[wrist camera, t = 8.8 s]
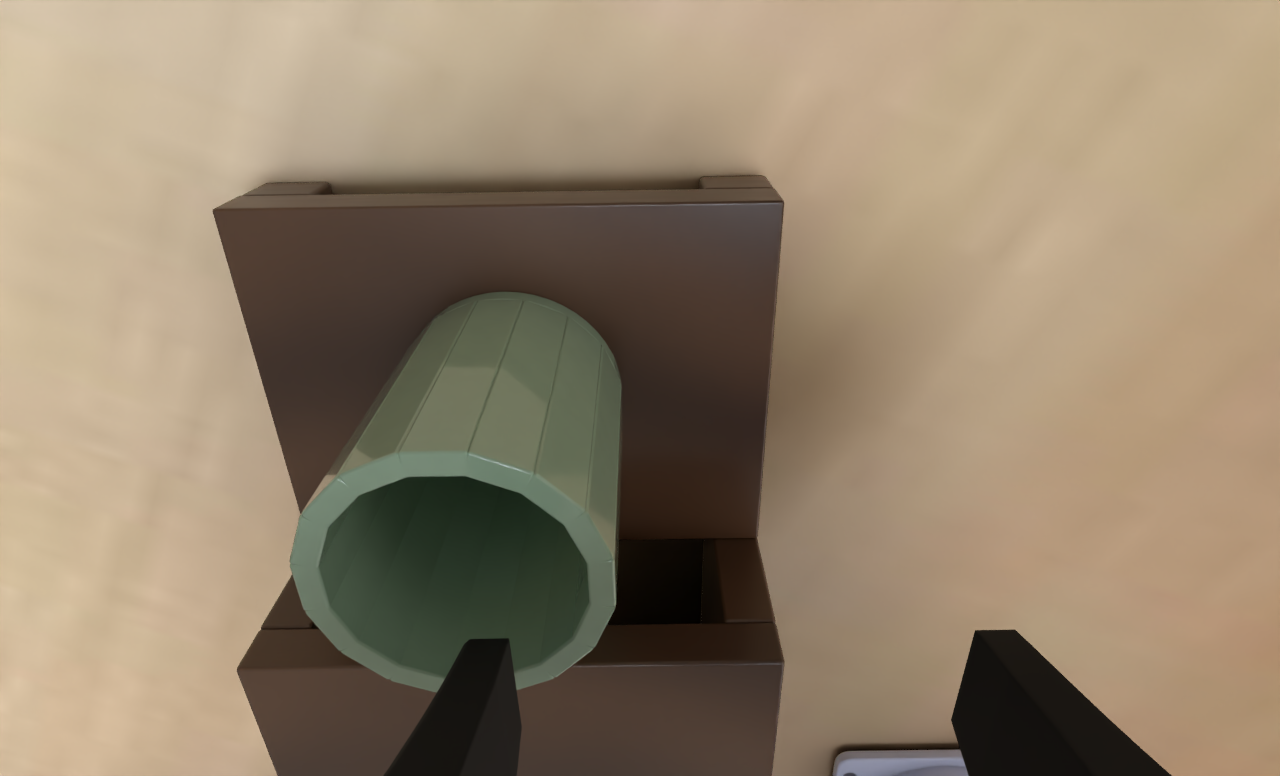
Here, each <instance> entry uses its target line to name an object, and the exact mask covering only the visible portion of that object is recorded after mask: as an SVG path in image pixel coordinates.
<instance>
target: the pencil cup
mask: <svg viewBox="0 0 1280 776" xmlns="http://www.w3.org/2000/svg"><path fill="white" fill-rule="evenodd" d="M622 421H623V416H622V382H621V377H620V373H619V369H618V366H617V363H616V361H615V358H614V356H613V354H612V352H611V350H610V349H609V347H608V345H607V344H606V342H605V341H604V340H603V338H602V337H601V336H600V334H599V333H598V332H597V331H596V330H595V329H594V328H593V327H592V326H591V325H590V324H589V323H588V322H587V321H586V320H584V319H583V318H582V317H580V316H579V315H578V314H576V313H575V312H573V311H572V310H570V309H568V308H566V307H565V306H563V305H561V304H559V303H556V302H554V301H552V300H549V299H546V298H543V297H540V296H536V295H532V294H526V293H520V292H492V293H485V294H481V295H476V296H472V297H469V298H467V299H464V300H461V301H459V302H457V303H455V304H453V305H451V306H449V307H447V308H446V309H445V310H443V311H442V312H440V313H439V314H437V315H436V316H435V317H434V318H433V319H432V320H431V321H430V322H429V323H428V324H427V325H426V326H425V328H424V329H423V330H422V331H421V333H420V334H419V336H418V337H417V339H416V340H415V341H414V342H413V343H412V344H411V345H410V346H409V348H408V349H407V351H406V352H405V354H404V355H403V357H402V359H401V360H400V362H399V363H398V365H397V366H396V368H395V369H394V371H393V372H392V374H391V375H390V377H389V379H388V380H387V382H386V383H385V385H384V386H383V388H382V389H381V391H380V392H379V394H378V395H377V397H376V399H375V400H374V402H373V403H372V405H371V406H370V408H369V409H368V411H367V412H366V414H365V416H364V417H363V419H362V420H361V422H360V423H359V425H358V426H357V428H356V429H355V431H354V432H353V434H352V436H351V437H350V439H349V440H348V442H347V443H346V445H345V446H344V448H343V449H342V451H341V452H340V454H339V456H338V457H337V459H336V460H335V462H334V463H333V465H332V466H331V468H330V469H329V471H328V473H327V474H326V476H325V477H324V479H323V480H322V482H321V483H320V485H319V486H318V488H317V489H316V491H315V493H314V494H313V496H312V497H311V499H310V500H309V502H308V503H307V505H306V506H305V508H304V509H303V511H302V513H301V515H300V516H299V521H298V525H297V530H296V534H295V538H294V543H293V547H292V552H291V556H290V568H291V571H292V574H293V578H294V581H295V584H296V587H297V590H298V594H299V597H300V600H301V603H302V606H303V609H304V610H305V612H306V614H307V615H308V617H309V618H310V619H311V620H312V621H313V622H314V623H315V625H316V626H317V627H318V628H319V629H320V630H321V631H322V632H323V634H324V635H325V636H326V637H327V638H328V639H329V640H330V642H331V643H332V644H333V645H334V646H335V647H336V648H337V650H339V651H341V653H342V654H344V655H346V656H347V657H349V658H351V659H353V660H354V661H356V662H358V663H360V664H361V665H363V666H365V667H366V668H368V669H370V670H372V671H373V672H375V673H377V674H379V675H380V676H382V677H384V678H385V679H388V680H389V679H390V680H391V681H392V682H396V683H400V684H404V685H408V686H412V687H415V688H419V689H423V690H427V691H431V692H435V693H437V691H438V690H439V688H440V686H441V685H442V683H443V681H444V679H445V678H446V676H447V674H448V672H449V671H450V669H451V667H452V665H453V663H454V662H455V660H456V658H457V656H458V654H459V652H460V650H461V649H462V647H463V645H464V644H465V643H466V642H467V641H468V640H469V639H497V638H509V641H510V648H511V655H512V662H513V669H514V676H515V683H516V690H520V689H523V688H526V687H529V686H533V685H536V684H539V683H542V682H545V681H549V680H552V679H553V678H554V677H558V676H559V675H560V674H562V673H563V672H564V671H566V670H567V669H568V668H570V667H571V666H572V665H573V664H575V663H576V662H577V661H579V660H580V659H581V658H583V657H584V656H585V655H587V654H588V653H589V652H591V651H592V650H593V648H594V647H595V646H596V645H597V643H598V641H599V639H600V637H601V635H602V633H603V631H604V629H605V628H606V626H607V624H608V622H609V620H610V618H611V616H612V614H613V612H614V610H615V608H616V603H617V576H618V545H619V514H620V483H621V452H622Z"/></svg>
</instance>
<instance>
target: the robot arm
mask: <svg viewBox="0 0 1280 776" xmlns="http://www.w3.org/2000/svg"><path fill="white" fill-rule="evenodd" d="M951 721H952V724H953V727H954V731H955V734H956V737H957V741H958V744H959V747H960V749H959V750H881V751H845V752H843V753H840V754H839V755H838V756H837V757H836V759H835V763H834V769H833V775H832V776H1171V775H1170V774H1169V773H1168V772H1167V771H1166V770H1165V769H1163V768H1162V767H1161V766H1160V765H1159V764H1158V763H1157V762H1156V761H1154V760H1153V759H1152V758H1151V757H1150V756H1149V755H1148V754H1147V753H1145V752H1144V751H1143V750H1142V749H1141V748H1140V747H1139V746H1138V745H1137V744H1136V743H1134V742H1133V741H1132V740H1131V739H1130V738H1129V737H1128V736H1127V735H1126V734H1125V733H1123V732H1122V731H1121V730H1120V729H1119V728H1118V727H1117V726H1116V725H1115V724H1114V723H1113V722H1112V721H1110V720H1109V719H1108V718H1107V717H1106V716H1105V715H1104V714H1103V713H1102V712H1101V711H1100V710H1099V709H1098V708H1097V707H1096V706H1094V705H1093V704H1092V703H1091V702H1090V701H1089V700H1088V699H1087V698H1086V697H1085V696H1084V695H1083V694H1082V693H1081V692H1080V691H1079V690H1078V689H1077V688H1076V687H1074V686H1073V685H1072V684H1071V683H1070V682H1069V681H1068V680H1067V679H1066V678H1065V677H1064V676H1063V675H1062V674H1061V673H1060V672H1059V671H1058V670H1057V669H1056V668H1055V667H1054V666H1053V665H1052V664H1050V663H1049V662H1048V661H1047V660H1046V659H1045V658H1044V657H1043V656H1042V655H1041V654H1040V653H1039V652H1038V651H1037V650H1036V649H1035V648H1034V647H1033V646H1032V645H1031V644H1030V643H1029V642H1028V641H1026V640H1025V639H1024V638H1023V637H1022V636H1021V635H1020V634H1019V633H1018V632H1017V631H1016V630H975V633H974V637H973V641H972V644H971V648H970V652H969V656H968V659H967V663H966V667H965V670H964V674H963V678H962V682H961V685H960V689H959V693H958V697H957V700H956V704H955V708H954V712H953V715H952V719H951ZM521 730H522V724H521V718H520V711H519V704H518V697H517V690H516V683H515V676H514V669H513V662H512V655H511V648H510V641H509V638H497V639H469V640H468V641H467V642H466V643H465V644H464V645H463V647H462V649H461V650H460V652H459V654H458V656H457V658H456V660H455V662H454V663H453V665H452V667H451V669H450V671H449V672H448V674H447V676H446V678H445V679H444V681H443V683H442V685H441V686H440V688H439V690H438V691H437V693H436V695H435V697H434V698H433V700H432V701H431V703H430V705H429V706H428V708H427V710H426V711H425V713H424V715H423V716H422V718H421V719H420V721H419V723H418V724H417V726H416V727H415V729H414V730H413V732H412V733H411V735H410V736H409V738H408V739H407V741H406V742H405V744H404V746H403V747H402V749H401V750H400V752H399V753H398V755H397V756H396V758H395V759H394V761H393V762H392V764H391V765H390V767H389V768H388V770H387V771H386V773H385V774H384V776H517V769H518V759H519V750H520V740H521Z"/></svg>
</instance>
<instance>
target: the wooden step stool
mask: <svg viewBox="0 0 1280 776" xmlns="http://www.w3.org/2000/svg"><path fill="white" fill-rule="evenodd" d="M783 211H784V201H783V200H782V198H781V197H780V195H779V194H778V193H777V191H776V190H775V189H774V188H773V187H772V185H771V184H770V183H769V181H768V180H767V178H766V177H764V176H720V177H702V178H700V181H699V189H683V190H615V191H547V192H479V193H411V194H343V195H332V192H331V187H330V184H329V183H326V182H316V183H266V184H264V185H262V186H260V187H258V188H256V189H254V190H252V191H250V192H248V193H246V194H244V195H242V196H239V197H237V198H235V199H233V200H231V201H229V202H227V203H225V204H223V205H221V206H219V207H217V208H215V209H213V214H214V218H215V221H216V225H217V228H218V231H219V235H220V238H221V242H222V245H223V249H224V252H225V256H226V259H227V262H228V266H229V269H230V273H231V276H232V280H233V283H234V287H235V290H236V293H237V297H238V300H239V304H240V307H241V311H242V314H243V318H244V321H245V324H246V328H247V331H248V335H249V338H250V342H251V345H252V348H253V352H254V355H255V359H256V362H257V366H258V369H259V373H260V376H261V379H262V383H263V386H264V390H265V393H266V397H267V400H268V404H269V407H270V410H271V414H272V417H273V421H274V424H275V428H276V431H277V435H278V438H279V441H280V445H281V448H282V452H283V455H284V459H285V462H286V465H287V469H288V472H289V476H290V479H291V483H292V486H293V490H294V493H295V496H296V500H297V503H298V507H299V510H300V514H301V513H302V511H303V509H304V508H305V506H306V505H307V503H308V502H309V500H310V499H311V497H312V496H313V494H314V493H315V491H316V489H317V488H318V486H319V485H320V483H321V482H322V480H323V479H324V477H325V476H326V474H327V473H328V471H329V469H330V468H331V466H332V465H333V463H334V462H335V460H336V459H337V457H338V456H339V454H340V452H341V451H342V449H343V448H344V446H345V445H346V443H347V442H348V440H349V439H350V437H351V436H352V434H353V432H354V431H355V429H356V428H357V426H358V425H359V423H360V422H361V420H362V419H363V417H364V416H365V414H366V412H367V411H368V409H369V408H370V406H371V405H372V403H373V402H374V400H375V399H376V397H377V395H378V394H379V392H380V391H381V389H382V388H383V386H384V385H385V383H386V382H387V380H388V379H389V377H390V375H391V374H392V372H393V371H394V369H395V368H396V366H397V365H398V363H399V362H400V360H401V359H402V357H403V355H404V354H405V352H406V351H407V349H408V348H409V346H410V345H411V344H412V343H413V342H414V341H415V340H416V339H417V337H418V336H419V334H420V333H421V331H422V330H423V329H424V328H425V326H426V325H427V324H428V323H429V322H430V321H431V320H432V319H433V318H434V317H435V316H436V315H437V314H439V313H440V312H442V311H443V310H445V309H446V308H447V307H449V306H451V305H453V304H455V303H457V302H459V301H461V300H464V299H467V298H469V297H472V296H476V295H481V294H485V293H492V292H520V293H526V294H532V295H536V296H540V297H543V298H546V299H549V300H552V301H554V302H556V303H559V304H561V305H563V306H565V307H566V308H568V309H570V310H572V311H573V312H575V313H576V314H578V315H579V316H580V317H582V318H583V319H584V320H586V321H587V322H588V323H589V324H590V325H591V326H592V327H593V328H594V329H595V330H596V331H597V332H598V333H599V334H600V336H601V337H602V338H603V340H604V341H605V342H606V344H607V345H608V347H609V349H610V350H611V352H612V354H613V356H614V358H615V361H616V363H617V366H618V369H619V373H620V377H621V382H622V416H623V421H622V452H621V483H620V514H619V540H646V539H704V541H703V569H702V598H701V624H632V625H607V626H606V628H605V629H604V631H603V633H602V635H601V637H600V639H599V641H598V643H597V645H596V646H595V647H594V648H593V650H592V651H591V652H589V653H588V654H587V655H585V656H584V657H583V658H581V659H580V660H579V661H577V662H576V663H575V664H573V665H572V666H571V667H570V668H568V669H567V670H566V671H564V672H563V673H562V674H560V675H559V676H558V677H554V678H553V679H552V680H549V681H545V682H542V683H539V684H536V685H533V686H529V687H526V688H523V689H520V690H517V697H518V704H519V711H520V718H521V724H522V730H521V740H520V750H519V759H518V769H517V776H772V769H773V760H774V751H775V742H776V733H777V724H778V715H779V707H780V698H781V689H782V680H783V671H784V657H783V653H782V648H781V644H780V639H779V635H778V630H777V626H776V624H775V617H774V612H773V608H772V603H771V599H770V594H769V590H768V585H767V581H766V577H765V572H764V568H763V563H762V559H761V554H760V550H759V545H758V541H757V536H758V526H759V513H760V501H761V488H762V476H763V463H764V450H765V438H766V425H767V413H768V400H769V387H770V375H771V362H772V350H773V337H774V324H775V312H776V299H777V287H778V274H779V262H780V249H781V236H782V224H783ZM237 673H238V675H239V678H240V681H241V683H242V686H243V688H244V691H245V693H246V696H247V698H248V701H249V703H250V706H251V709H252V711H253V714H254V716H255V719H256V721H257V724H258V726H259V729H260V732H261V734H262V737H263V739H264V742H265V744H266V747H267V749H268V752H269V755H270V757H271V760H272V762H273V765H274V767H275V770H276V772H277V775H278V776H384V774H385V773H386V771H387V770H388V768H389V767H390V765H391V764H392V762H393V761H394V759H395V758H396V756H397V755H398V753H399V752H400V750H401V749H402V747H403V746H404V744H405V742H406V741H407V739H408V738H409V736H410V735H411V733H412V732H413V730H414V729H415V727H416V726H417V724H418V723H419V721H420V719H421V718H422V716H423V715H424V713H425V711H426V710H427V708H428V706H429V705H430V703H431V701H432V700H433V698H434V697H435V695H436V693H435V692H431V691H427V690H423V689H419V688H415V687H412V686H408V685H404V684H400V683H396V682H392V681H391V680H390V679H389V680H388V679H385V678H384V677H382V676H380V675H379V674H377V673H375V672H373V671H372V670H370V669H368V668H366V667H365V666H363V665H361V664H360V663H358V662H356V661H354V660H353V659H351V658H349V657H347V656H346V655H344V654H342V653H341V651H339V650H337V648H336V647H335V646H334V645H333V644H332V643H331V642H330V640H329V639H328V638H327V637H326V636H325V635H324V634H323V632H322V631H321V630H320V629H319V628H318V627H317V626H316V625H315V623H314V622H313V621H312V620H311V619H310V618H309V617H308V615H307V614H306V612H305V610H304V609H303V606H302V603H301V600H300V597H299V594H298V590H297V587H296V584H295V581H294V578H293V574H292V576H291V578H290V579H289V581H288V583H287V584H286V586H285V588H284V589H283V591H282V593H281V594H280V596H279V598H278V599H277V601H276V603H275V604H274V606H273V608H272V609H271V611H270V613H269V615H268V616H267V618H266V620H265V621H264V623H263V625H262V627H261V630H260V631H259V632H258V634H257V635H256V637H255V639H254V640H253V642H252V644H251V645H250V647H249V649H248V651H247V652H246V654H245V656H244V657H243V659H242V661H241V662H240V664H239V666H238V668H237Z"/></svg>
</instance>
